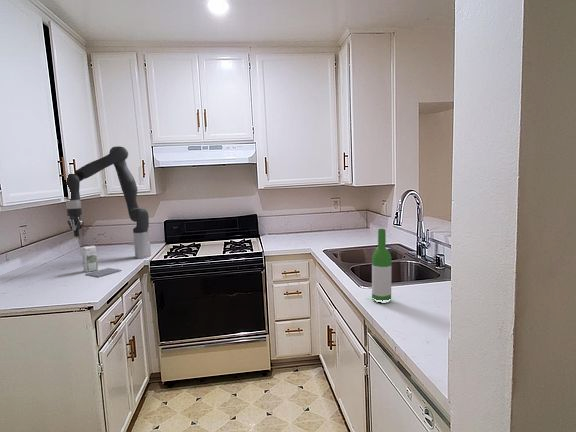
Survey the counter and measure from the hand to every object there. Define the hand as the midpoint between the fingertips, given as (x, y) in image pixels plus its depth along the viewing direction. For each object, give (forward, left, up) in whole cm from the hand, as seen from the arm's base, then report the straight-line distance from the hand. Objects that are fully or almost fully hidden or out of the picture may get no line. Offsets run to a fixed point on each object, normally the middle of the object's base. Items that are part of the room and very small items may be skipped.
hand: (76, 236), depth 207 cm
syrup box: (0, +11, -20) cm, 23 cm away
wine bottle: (-20, +176, -20) cm, 178 cm away
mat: (0, +23, -20) cm, 30 cm away
